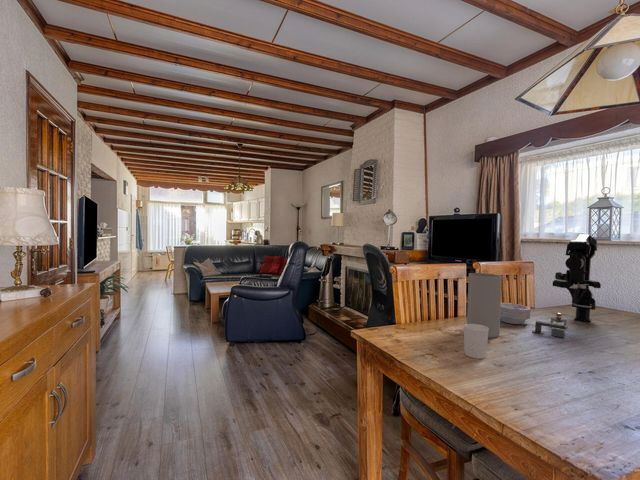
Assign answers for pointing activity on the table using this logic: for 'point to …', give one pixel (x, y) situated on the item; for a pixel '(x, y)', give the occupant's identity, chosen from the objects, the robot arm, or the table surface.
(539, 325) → the keeper
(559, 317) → the pintle
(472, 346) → the white cup
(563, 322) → the link
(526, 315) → the paper bowls
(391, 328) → the table surface
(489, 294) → the tall grey block
